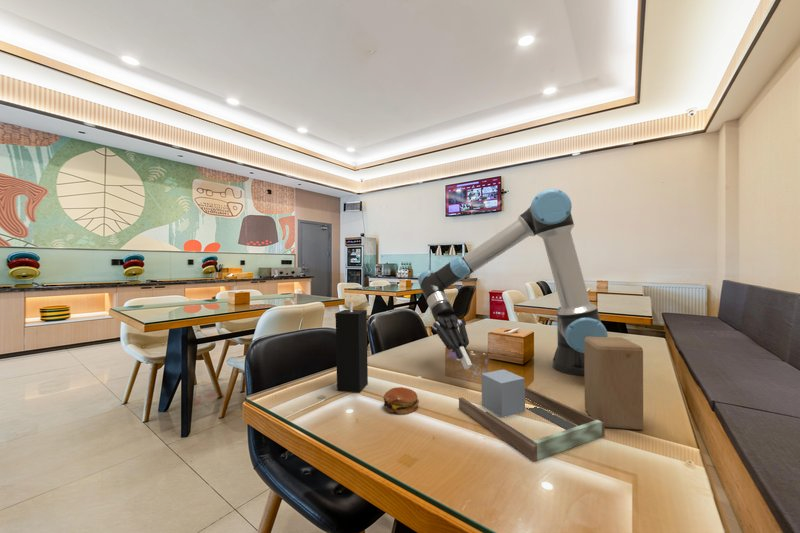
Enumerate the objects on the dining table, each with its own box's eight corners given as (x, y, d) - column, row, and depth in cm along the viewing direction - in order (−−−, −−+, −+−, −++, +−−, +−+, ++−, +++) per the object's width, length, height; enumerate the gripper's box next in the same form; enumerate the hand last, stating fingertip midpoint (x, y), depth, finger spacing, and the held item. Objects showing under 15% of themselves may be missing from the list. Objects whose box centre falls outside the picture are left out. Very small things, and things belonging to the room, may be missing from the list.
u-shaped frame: (519, 394, 98) (519, 382, 98) (604, 435, 74) (604, 420, 74) (458, 408, 89) (458, 396, 89) (533, 461, 65) (533, 444, 65)
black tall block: (336, 391, 102) (334, 302, 102) (346, 381, 110) (344, 299, 109) (359, 393, 100) (358, 303, 100) (368, 383, 108) (366, 300, 108)
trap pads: (527, 401, 92) (527, 401, 92) (578, 427, 78) (578, 426, 78) (476, 415, 85) (476, 414, 85) (522, 446, 70) (522, 445, 70)
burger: (412, 398, 96) (412, 382, 96) (422, 412, 87) (422, 395, 87) (380, 402, 94) (380, 386, 94) (387, 417, 85) (386, 400, 85)
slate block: (504, 400, 94) (503, 369, 94) (525, 411, 87) (524, 378, 86) (481, 405, 91) (481, 373, 90) (501, 417, 83) (501, 383, 83)
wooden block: (645, 431, 75) (645, 346, 75) (598, 428, 77) (597, 345, 77) (624, 412, 85) (624, 336, 85) (583, 409, 87) (582, 335, 87)
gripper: (451, 312, 122) (480, 369, 107) (421, 314, 116) (446, 375, 101) (459, 299, 117) (490, 358, 102) (428, 301, 111) (455, 363, 96)
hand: (468, 366), depth 101 cm, fingers closed
